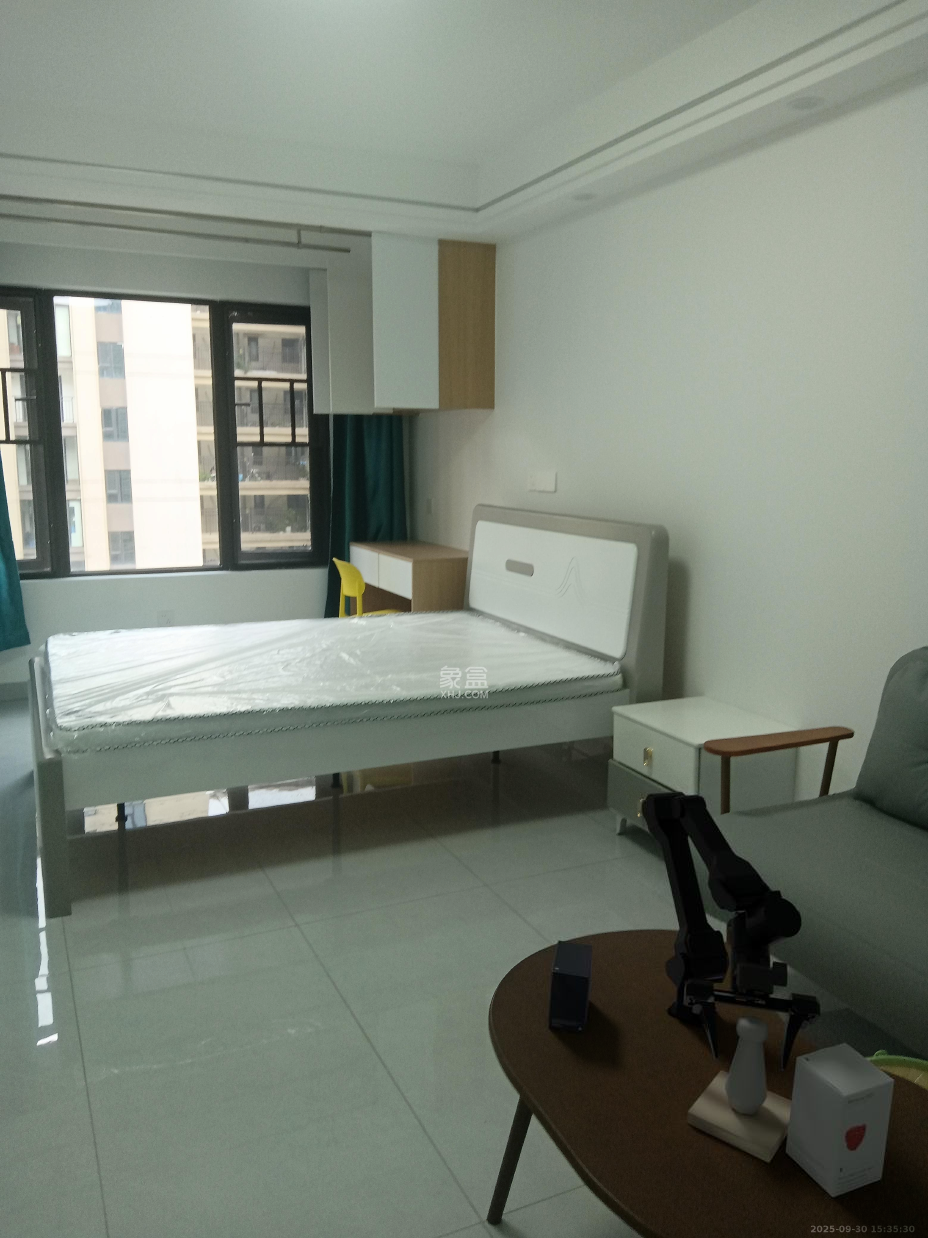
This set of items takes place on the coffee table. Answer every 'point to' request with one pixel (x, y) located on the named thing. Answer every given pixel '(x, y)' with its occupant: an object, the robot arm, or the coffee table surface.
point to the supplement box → (839, 1118)
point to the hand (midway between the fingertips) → (749, 1064)
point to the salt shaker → (748, 1067)
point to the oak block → (742, 1120)
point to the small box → (570, 986)
